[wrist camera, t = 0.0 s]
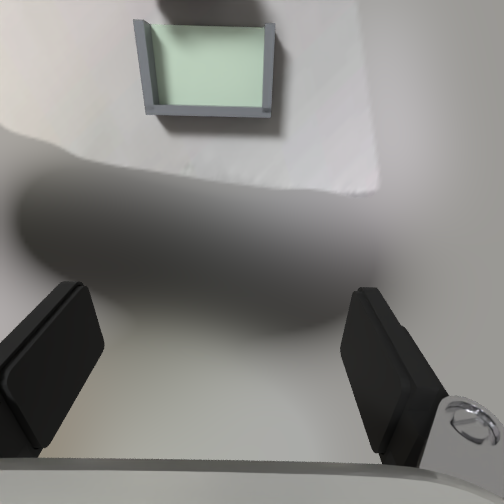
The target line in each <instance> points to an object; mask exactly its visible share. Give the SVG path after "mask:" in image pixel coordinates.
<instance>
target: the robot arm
mask: <svg viewBox="0 0 504 504" xmlns="http://www.w3.org/2000/svg"><path fill="white" fill-rule="evenodd" d="M103 350H104V339H103V336H102V333H101V329H100V326H99V322H98V319H97V316H96V312H95V309H94V306H93V302H92V299H91V295H90V292H89V289H88V287H87V286H84V285H83V283H82V282H69V281H64V282H61V283H60V284H59V285H58V286H57V287H56V288H55V289H54V290H53V291H52V292H51V293H50V294H49V295H48V296H47V297H46V298H45V299H44V300H43V301H42V302H41V303H40V304H39V305H38V306H37V307H36V308H35V309H34V310H33V311H32V312H31V313H30V314H29V315H28V316H27V317H26V318H25V319H24V320H23V321H22V322H21V323H20V324H19V325H18V326H17V327H16V328H15V329H14V330H13V331H12V332H11V333H10V334H9V335H8V336H7V337H6V338H5V339H4V340H3V341H2V342H1V343H0V504H504V427H503V425H502V423H501V422H500V421H499V420H498V419H497V417H496V416H495V415H494V414H492V413H491V412H490V411H489V410H488V409H486V408H485V407H484V406H482V405H480V404H479V403H477V402H475V401H473V400H470V399H468V398H466V397H461V396H449V395H448V393H447V392H446V390H445V389H444V387H443V385H442V384H441V382H440V381H439V379H438V378H437V376H436V375H435V373H434V371H433V370H432V368H431V367H430V365H429V364H428V362H427V361H426V359H425V357H424V356H423V354H422V353H421V351H420V350H419V348H418V346H417V345H416V343H415V342H414V340H413V339H412V337H411V336H410V334H409V332H408V331H407V330H406V328H405V327H403V326H401V325H400V323H399V322H398V320H397V318H396V317H395V315H394V314H393V312H392V310H391V309H390V307H389V306H388V304H387V302H386V301H385V299H384V298H383V296H382V294H381V293H380V291H379V290H378V289H377V288H369V287H360V288H359V289H358V291H354V292H353V294H352V298H351V302H350V307H349V311H348V315H347V320H346V324H345V329H344V333H343V338H342V342H341V347H340V352H341V357H342V360H343V363H344V366H345V369H346V372H347V375H348V378H349V381H350V384H351V387H352V390H353V394H354V397H355V400H356V403H357V406H358V409H359V411H360V415H361V418H362V420H363V424H364V427H365V430H366V433H367V436H368V439H369V442H370V445H371V448H372V450H373V451H374V452H375V453H379V456H380V458H381V462H382V464H358V463H335V462H333V463H332V462H294V461H248V460H246V461H245V460H187V459H115V458H104V459H103V458H38V456H39V454H40V453H41V451H42V449H43V448H46V447H47V446H48V445H49V444H50V443H51V441H52V440H53V438H54V436H55V434H56V432H57V431H58V429H59V427H60V426H61V424H62V422H63V420H64V419H65V417H66V415H67V413H68V412H69V410H70V408H71V406H72V404H73V403H74V401H75V399H76V398H77V396H78V394H79V392H80V391H81V389H82V387H83V385H84V384H85V382H86V380H87V378H88V377H89V375H90V373H91V371H92V370H93V368H94V366H95V365H96V363H97V361H98V359H99V357H100V356H101V354H102V352H103Z"/></svg>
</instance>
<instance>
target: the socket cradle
mask: <svg viewBox="0 0 504 504" xmlns="http://www.w3.org/2000/svg"><path fill="white" fill-rule="evenodd" d="M133 24H134V31H135V38H136V46H137V53H138V61H139V68H140V75H141V83H142V90H143V98H144V105H145V112H146V115H179V116H219V117H258V118H271V104H272V84H273V63H274V43H275V23H265V27H264V28H260V27H224V26H188V25H152V24H149V23H147V22H146V21H144V20H135V19H133Z"/></svg>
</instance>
